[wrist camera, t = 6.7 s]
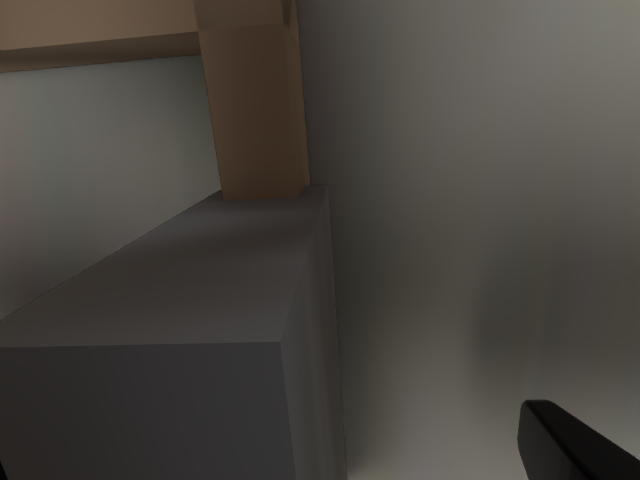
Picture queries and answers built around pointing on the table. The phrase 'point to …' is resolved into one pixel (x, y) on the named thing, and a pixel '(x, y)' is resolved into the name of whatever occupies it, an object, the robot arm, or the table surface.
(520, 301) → the table surface
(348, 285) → the table surface
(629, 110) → the table surface
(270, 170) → the brown rectangular frame
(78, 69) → the table surface
